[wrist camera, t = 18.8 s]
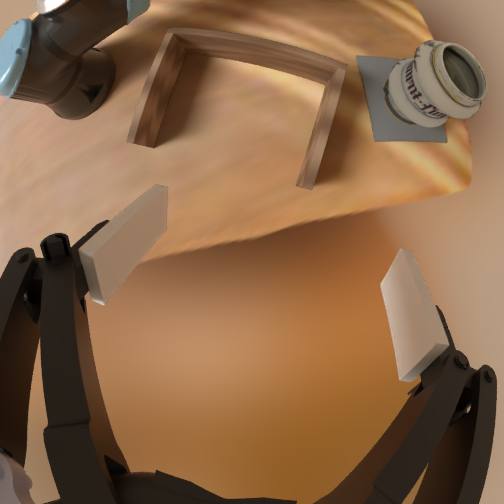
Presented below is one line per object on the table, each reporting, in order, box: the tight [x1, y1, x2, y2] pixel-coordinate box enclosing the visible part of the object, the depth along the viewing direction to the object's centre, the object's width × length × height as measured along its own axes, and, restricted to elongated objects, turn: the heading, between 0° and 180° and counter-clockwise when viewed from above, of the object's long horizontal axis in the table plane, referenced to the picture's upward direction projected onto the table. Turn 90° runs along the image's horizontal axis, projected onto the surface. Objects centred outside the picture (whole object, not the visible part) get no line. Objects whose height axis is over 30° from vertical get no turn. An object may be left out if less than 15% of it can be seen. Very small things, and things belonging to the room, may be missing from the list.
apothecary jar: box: [383, 40, 487, 127], centre depth 27 cm, size 12×12×18 cm
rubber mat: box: [356, 56, 447, 143], centre depth 36 cm, size 16×16×1 cm
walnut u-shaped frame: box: [126, 27, 347, 190], centre depth 35 cm, size 19×26×8 cm
